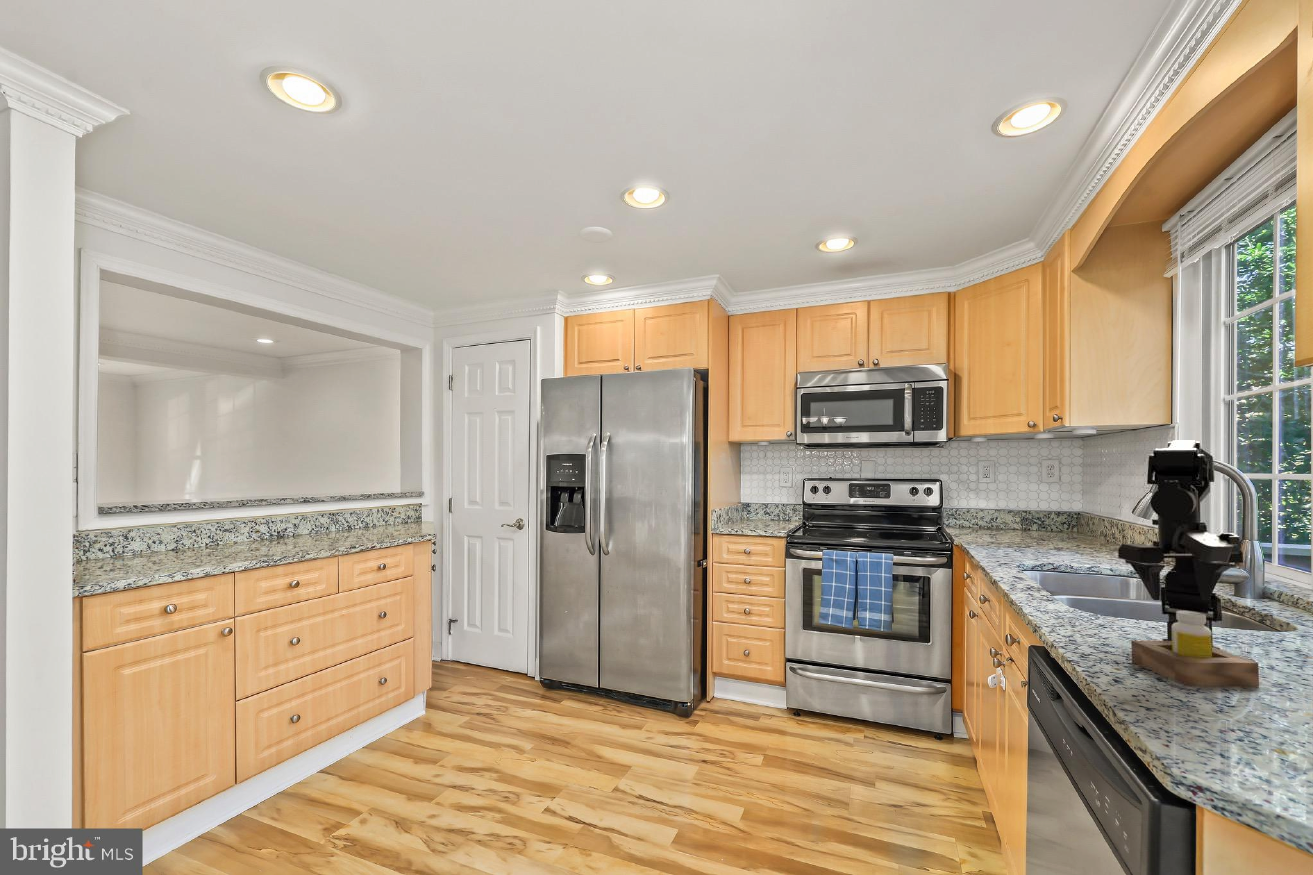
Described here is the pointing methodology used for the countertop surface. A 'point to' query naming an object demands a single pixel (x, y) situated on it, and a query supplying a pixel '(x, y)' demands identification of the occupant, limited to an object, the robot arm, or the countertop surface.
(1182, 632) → the supplement bottle
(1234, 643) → the countertop surface
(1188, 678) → the socket block
